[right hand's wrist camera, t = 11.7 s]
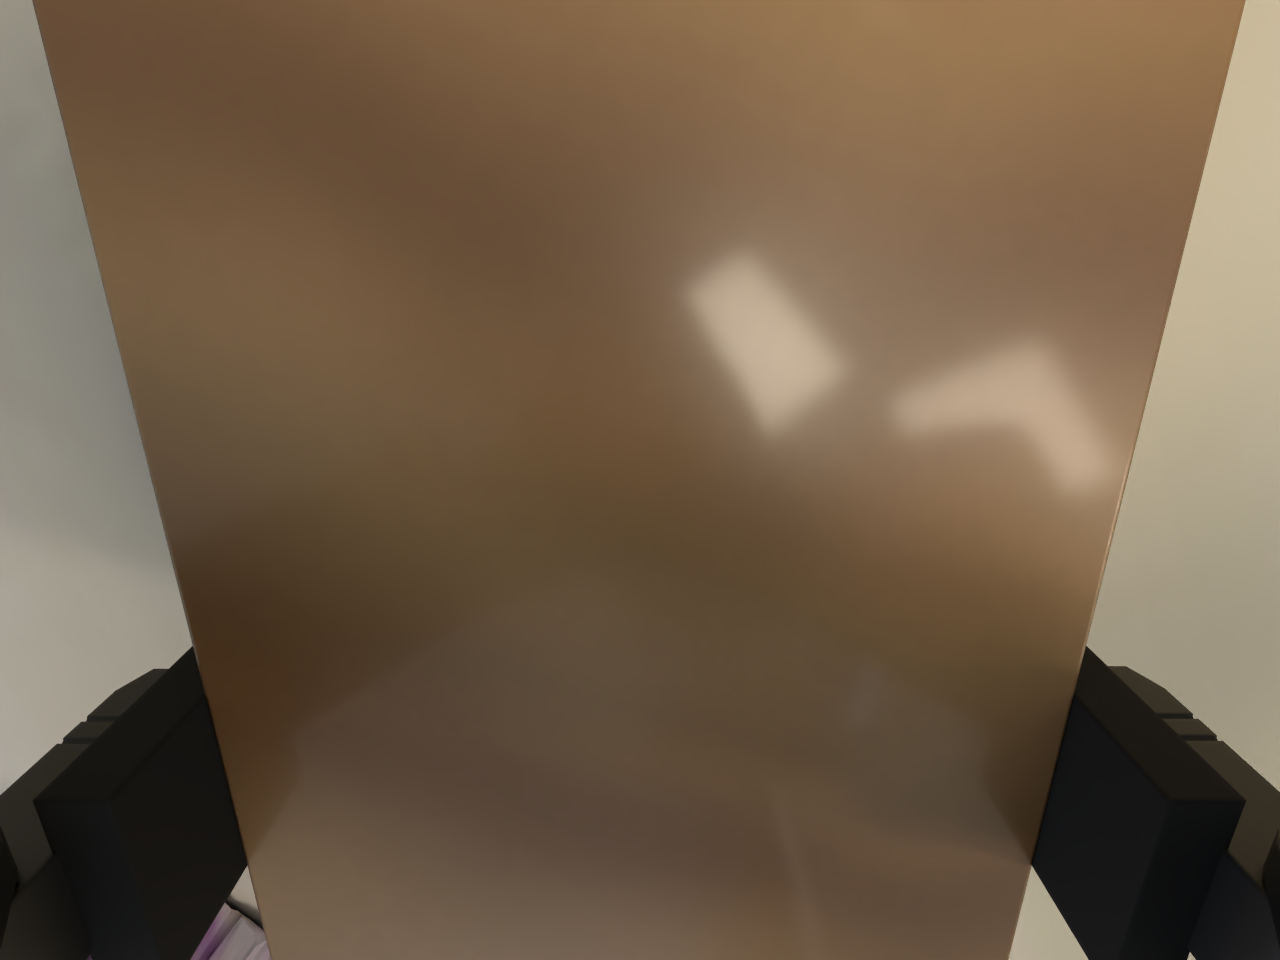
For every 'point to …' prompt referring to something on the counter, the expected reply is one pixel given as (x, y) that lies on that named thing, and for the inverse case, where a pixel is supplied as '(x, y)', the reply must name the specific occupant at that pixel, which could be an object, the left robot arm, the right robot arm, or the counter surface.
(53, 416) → the counter surface
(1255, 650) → the counter surface
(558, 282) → the cabinet
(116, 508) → the counter surface
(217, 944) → the figurine
